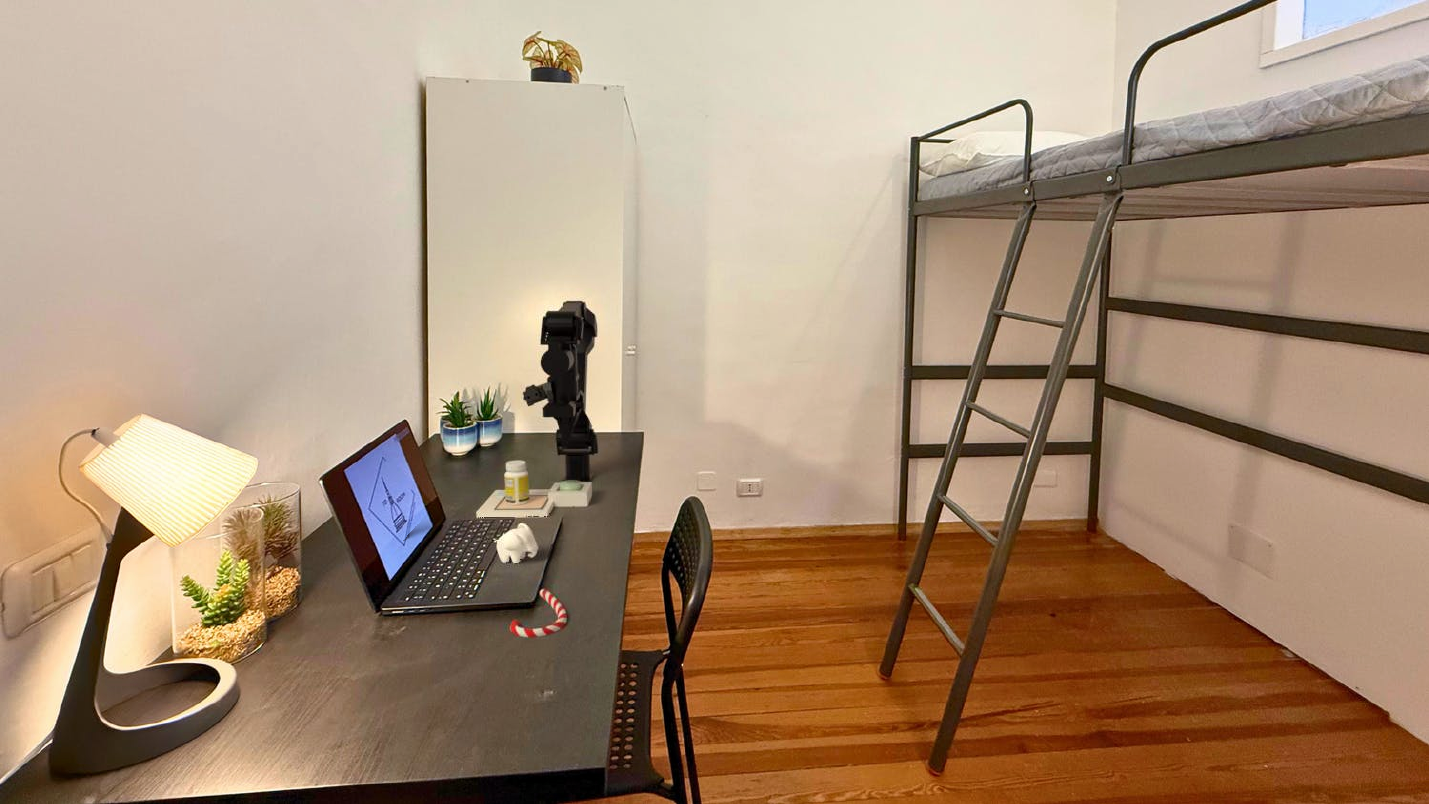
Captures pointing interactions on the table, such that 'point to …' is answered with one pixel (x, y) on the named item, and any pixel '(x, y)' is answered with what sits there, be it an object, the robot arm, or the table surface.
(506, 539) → the elephant figurine
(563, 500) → the button box
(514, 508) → the colouring board
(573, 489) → the button
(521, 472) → the supplement bottle
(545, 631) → the candy cane
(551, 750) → the table surface
